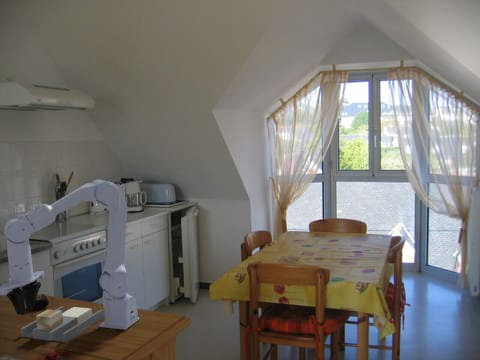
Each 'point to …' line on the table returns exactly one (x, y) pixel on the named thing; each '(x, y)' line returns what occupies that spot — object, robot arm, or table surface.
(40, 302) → the tape measure
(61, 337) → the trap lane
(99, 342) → the table surface
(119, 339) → the table surface
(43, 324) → the maple block
